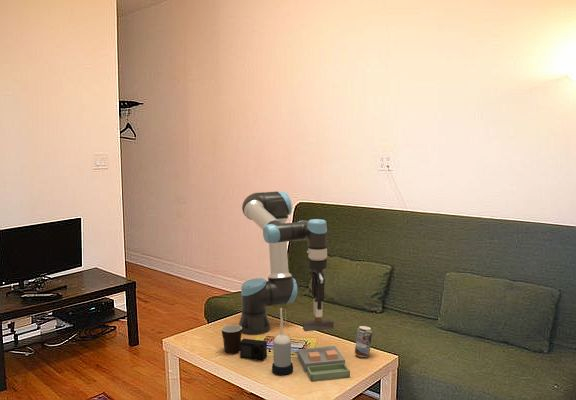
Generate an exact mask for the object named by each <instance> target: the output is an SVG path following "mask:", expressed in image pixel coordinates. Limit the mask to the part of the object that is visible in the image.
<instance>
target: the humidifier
mask: <svg viewBox="0 0 576 400" xmlns="http://www.w3.org/2000/svg"><path fill="white" fill-rule="evenodd" d="M286 312H287V311H286V309H285V325H287V321H286V318H287V317H286V316H287V314H286ZM279 313H280V314H279V316H280V317H279V318H280V325H279V331H280V333H279V334H278V335H276V336H275V337H274V340H273V342H272V343H273V362H272V364H271V365H272V366H271V372H272V374H273V375H275V376H278V377H286V376H290V375H292V374H293V372H294V363H293V362H292V342H291V338H290V337H289V336H288V335H287V333H284V331H283V330H284V328H283V325H284V319H283V308H282V307H281V308H279Z"/></svg>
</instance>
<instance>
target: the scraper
mask: <svg viewBox="0 0 576 400" xmlns="http://www.w3.org/2000/svg"><path fill="white" fill-rule="evenodd" d="M315 300H316V297H315ZM334 326H335V325H334V320H333V319H329V318H327V319H322V317H315V316H314V320H308V321H307V320H306V321H302V330H303V331H304V332H313V331H314V332H315V331H324V330H325V331H326V330H327V331H328V330H334Z"/></svg>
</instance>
